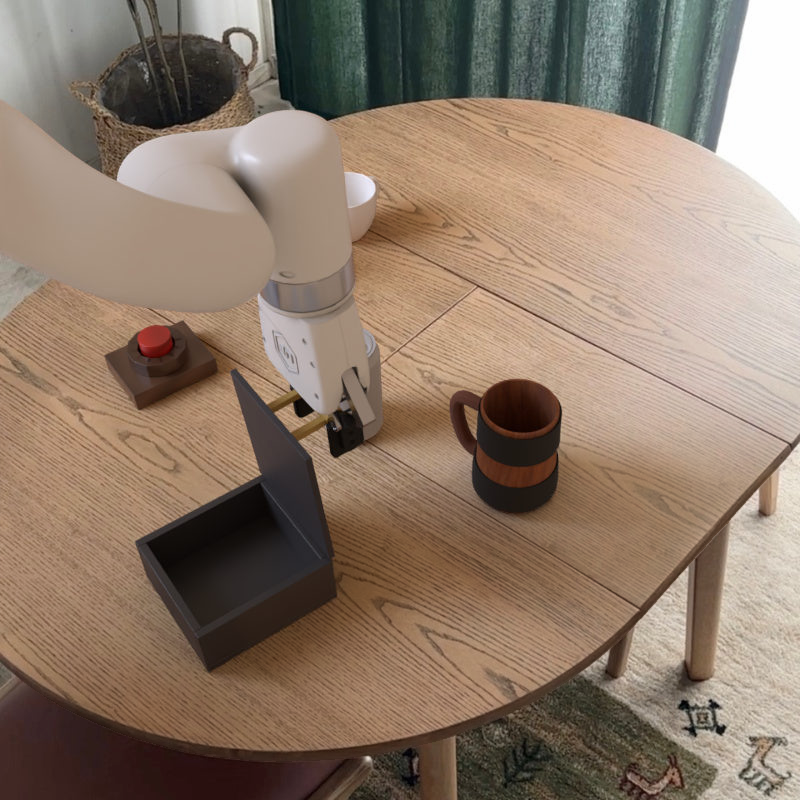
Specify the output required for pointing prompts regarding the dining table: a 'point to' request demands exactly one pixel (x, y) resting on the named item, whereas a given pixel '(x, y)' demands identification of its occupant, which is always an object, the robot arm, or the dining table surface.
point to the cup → (361, 202)
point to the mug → (511, 443)
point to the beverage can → (372, 386)
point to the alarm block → (161, 366)
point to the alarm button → (155, 341)
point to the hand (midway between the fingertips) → (329, 427)
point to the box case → (236, 571)
